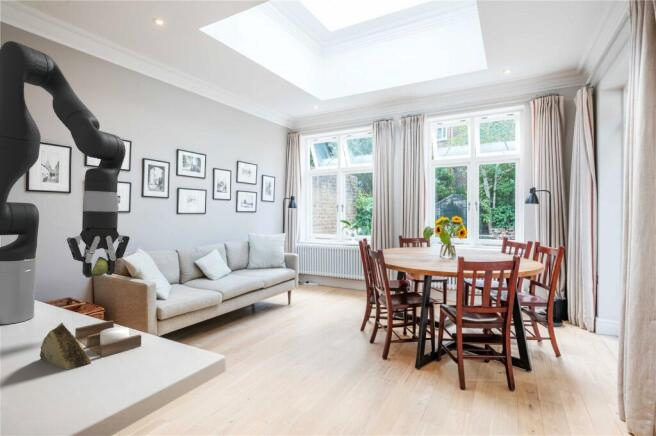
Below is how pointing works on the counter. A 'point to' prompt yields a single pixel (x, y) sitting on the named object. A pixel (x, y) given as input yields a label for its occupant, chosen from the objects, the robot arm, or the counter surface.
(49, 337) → the rock
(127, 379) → the counter surface
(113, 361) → the counter surface
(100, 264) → the lime
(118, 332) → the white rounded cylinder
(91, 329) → the rack
